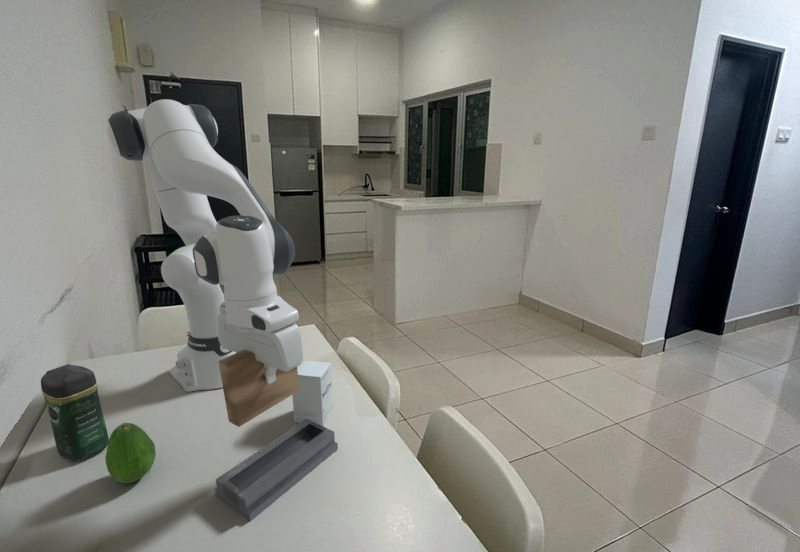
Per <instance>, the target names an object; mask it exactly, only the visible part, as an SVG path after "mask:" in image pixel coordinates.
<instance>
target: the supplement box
mask: <svg viewBox="0 0 800 552" xmlns="http://www.w3.org/2000/svg"><path fill="white" fill-rule="evenodd" d="M297 371H298V380H299V388H300V390H299V391H298V392H296V393H294V394H293V395H291V396H292V407H293V408H292V409H293V420H294V421H293V422H294V423H297V424H299V423H300V422H302V421H303V420H305V419H308V420H311V421H313V422H315V423H317V424H319V425H321V426H323V425H324V424H325V421H326V420H327V418H328V417H329V415H330V414H331V413H332V410H333V409H334V398H333V397H334V396H333V377H332V376H333V375H332V363H331V362H324V361H323V362H322V361H311V360H302V362H301V364H300V365H299V366H297Z"/></svg>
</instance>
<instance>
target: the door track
mask: <svg viewBox="0 0 800 552" xmlns="http://www.w3.org/2000/svg"><path fill="white" fill-rule="evenodd" d="M335 436H336V435H335V431H334V430H332V429H330V428H327V427H325V426H323V425H319V424H317V423H315V422H313V421H311V420H308V419H305V420H303V421H302V422H300V423H297V424H296V425H294V426H292V427H291V428H290V429H288V430H287V431H286V432H284V433H282V434H281V435H280V436H278V437H277V438H275V439H273V440H272V441H270V442H269V443H268V444H266V445H265V446H263V447H261V448H260V449H259V450H257V451H256V452H254V453H253V454H251V455H250V456H248V457H247V458H245V459H244V460H242V461H240V462H239V463H238V464H236V465H235V466H234V467H232V468H230V469H229V470H228V471H226V472H224V473H223V474H222V475H220V476H218V477H217V478H215V483H216V485H215V486H216V488H214V492H215V493H214V494H215V497H217V498H218V499H219V500H221V501H222V502H223V503H225V504H226V505H227V506H229V507H230V508H232V509H233V510H234V511H236V512H237V513H238V514H240V515H241V516H243V517H244V518H245V519H246V520H248V521H249V522H251V521H252V520H254V519H256V517H257V516H259V514H261V513H263V512H264V511H265V510H266V509H267V508H269V507H270V506H271V505H272V504H274V502H276V501H277V500H278V499H279V498H281V497H282V496H283V495H284V494H285V493H287V492H288V491H290V489H291V488H293V487H294V486H295V485H296V484H297V483H299V482H300V481H301V480H302V479H303V478H305V477H306V476H307V475H308V474H310V473H311V472H312V471H313V470H315V469H316V468H317V467H318V466H319V465H321V464H322V463H323V462H324V461H325V460H327V459H328V458H329V457H330V456H331V455H333V454H334V453H335V452H336V451H338V450H339V445H338V442H336V439H335V438H336V437H335ZM337 449H338V450H337ZM332 453H333V454H332ZM322 461H323V462H322ZM321 462H322V463H321ZM320 463H321V464H320Z"/></svg>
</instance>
